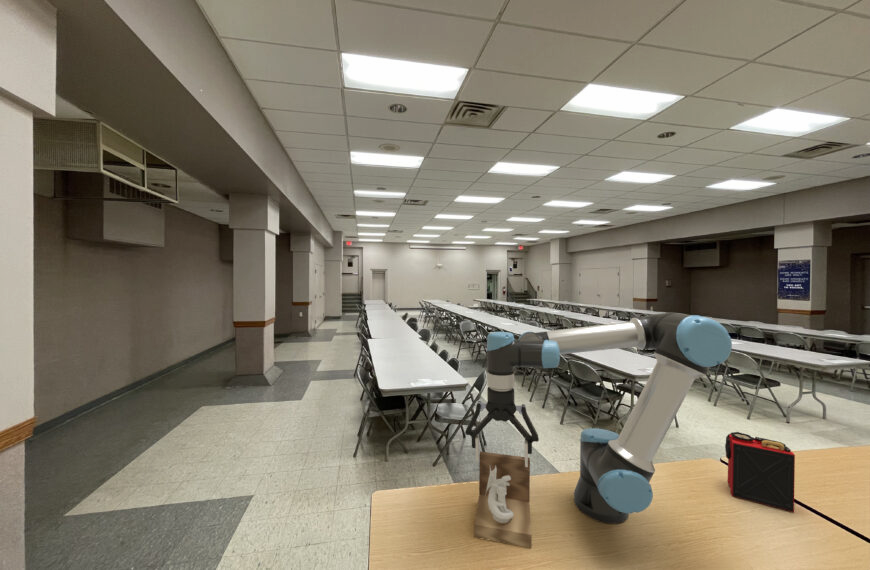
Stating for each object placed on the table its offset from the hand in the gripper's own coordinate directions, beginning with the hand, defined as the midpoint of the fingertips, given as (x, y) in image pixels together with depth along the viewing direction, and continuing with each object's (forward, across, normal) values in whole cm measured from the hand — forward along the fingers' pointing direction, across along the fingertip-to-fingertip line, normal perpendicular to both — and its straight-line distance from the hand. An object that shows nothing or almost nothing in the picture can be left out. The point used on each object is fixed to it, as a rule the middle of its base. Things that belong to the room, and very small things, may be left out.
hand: (501, 461), depth 94 cm
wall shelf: (+18, 0, -2) cm, 18 cm away
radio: (+20, -80, -34) cm, 89 cm away
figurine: (+15, +1, 0) cm, 15 cm away
